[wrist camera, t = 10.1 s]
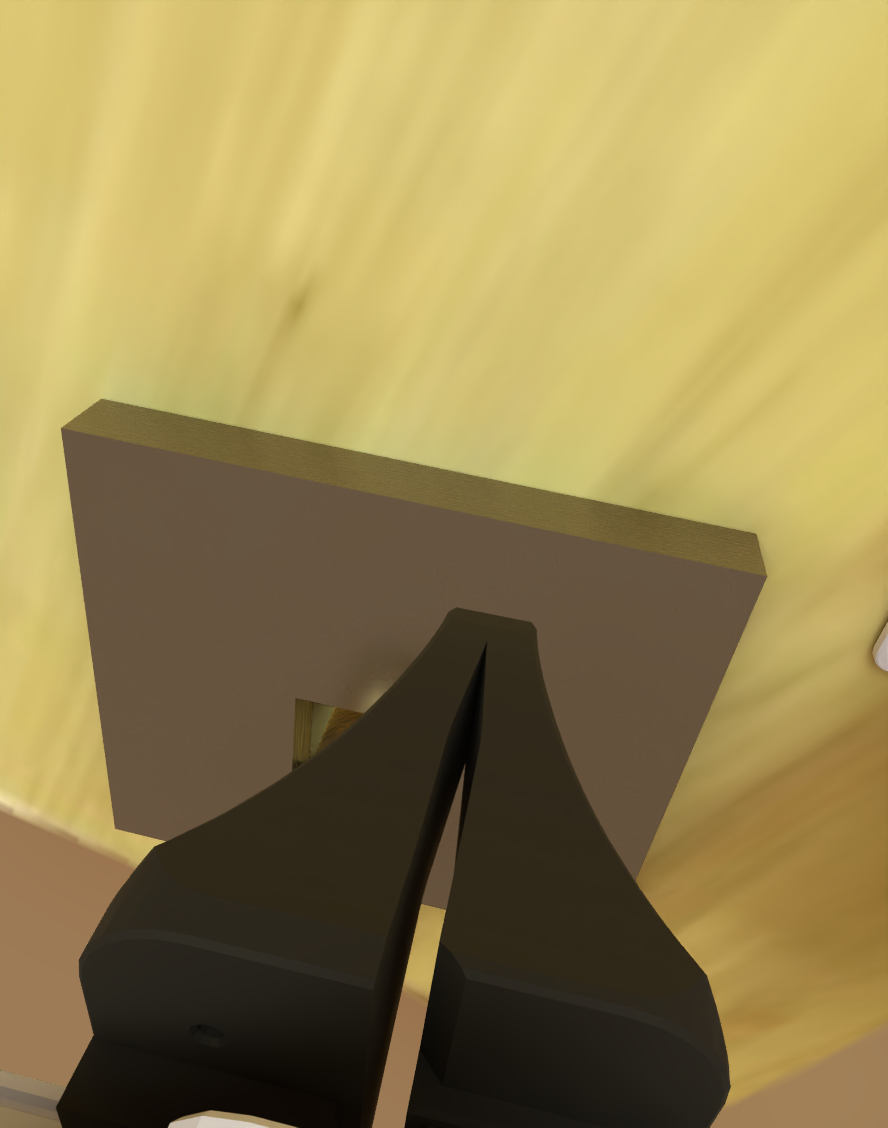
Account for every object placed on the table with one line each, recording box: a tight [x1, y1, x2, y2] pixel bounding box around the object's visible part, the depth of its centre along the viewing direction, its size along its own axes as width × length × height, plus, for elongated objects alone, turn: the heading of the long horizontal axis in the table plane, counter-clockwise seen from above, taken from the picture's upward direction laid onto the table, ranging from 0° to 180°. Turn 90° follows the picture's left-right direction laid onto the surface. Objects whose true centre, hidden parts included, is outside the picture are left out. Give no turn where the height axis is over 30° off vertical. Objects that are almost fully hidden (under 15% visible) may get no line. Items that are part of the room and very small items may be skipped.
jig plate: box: [61, 399, 767, 910], centre depth 26 cm, size 18×16×2 cm
